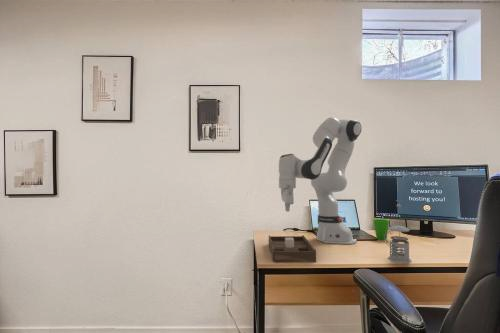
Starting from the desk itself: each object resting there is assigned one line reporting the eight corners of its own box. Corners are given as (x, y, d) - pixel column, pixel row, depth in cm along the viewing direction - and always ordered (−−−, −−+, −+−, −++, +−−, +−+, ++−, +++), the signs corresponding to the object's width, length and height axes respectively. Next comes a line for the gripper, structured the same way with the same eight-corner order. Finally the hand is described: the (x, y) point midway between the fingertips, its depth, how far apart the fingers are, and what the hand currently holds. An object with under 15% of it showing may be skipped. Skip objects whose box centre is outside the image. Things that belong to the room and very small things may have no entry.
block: (285, 245, 146) (284, 237, 146) (292, 245, 146) (292, 237, 146) (286, 247, 142) (285, 239, 142) (294, 247, 142) (294, 239, 142)
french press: (404, 264, 123) (403, 205, 124) (379, 257, 133) (378, 203, 133) (416, 260, 128) (415, 204, 129) (391, 254, 138) (391, 202, 139)
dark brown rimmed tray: (268, 244, 157) (268, 235, 157) (303, 244, 157) (303, 235, 157) (273, 262, 127) (273, 250, 127) (316, 261, 127) (316, 250, 127)
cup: (373, 240, 167) (372, 221, 167) (372, 236, 175) (372, 218, 175) (390, 241, 163) (390, 222, 163) (389, 237, 172) (389, 219, 172)
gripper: (296, 185, 141) (296, 214, 141) (290, 183, 161) (290, 208, 161) (283, 185, 141) (283, 214, 140) (279, 183, 161) (279, 208, 161)
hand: (287, 211), depth 151 cm, fingers closed
